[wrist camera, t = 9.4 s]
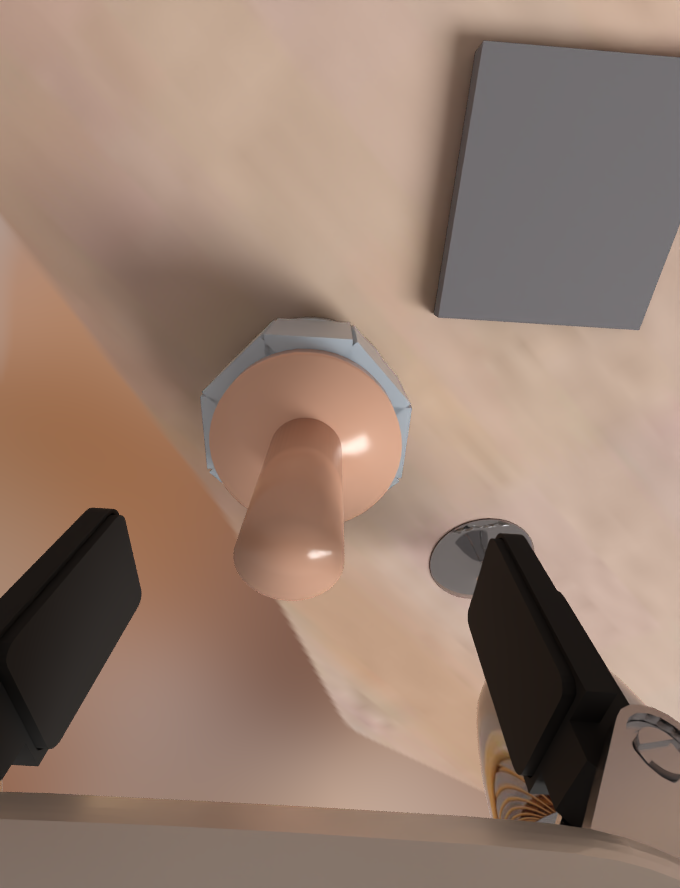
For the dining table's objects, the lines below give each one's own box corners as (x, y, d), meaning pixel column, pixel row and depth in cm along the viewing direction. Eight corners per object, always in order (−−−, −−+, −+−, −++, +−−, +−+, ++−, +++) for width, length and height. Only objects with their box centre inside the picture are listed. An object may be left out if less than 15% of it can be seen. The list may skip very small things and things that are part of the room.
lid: (409, 354, 16) (463, 434, 9) (387, 516, 20) (414, 662, 13) (209, 342, 16) (111, 415, 9) (223, 508, 19) (160, 653, 12)
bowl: (402, 322, 20) (421, 343, 16) (383, 474, 24) (394, 525, 20) (225, 311, 20) (193, 329, 16) (235, 466, 24) (212, 517, 20)
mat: (719, 72, 16) (741, 62, 15) (625, 326, 21) (639, 330, 20) (475, 52, 16) (483, 40, 15) (433, 314, 20) (438, 317, 19)
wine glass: (404, 544, 27) (472, 843, 13) (518, 494, 25) (728, 780, 12) (450, 616, 30) (543, 919, 16) (554, 576, 28) (754, 877, 15)
